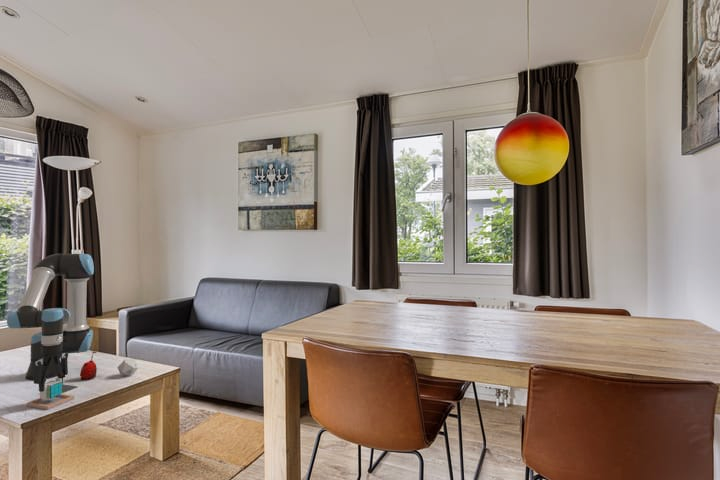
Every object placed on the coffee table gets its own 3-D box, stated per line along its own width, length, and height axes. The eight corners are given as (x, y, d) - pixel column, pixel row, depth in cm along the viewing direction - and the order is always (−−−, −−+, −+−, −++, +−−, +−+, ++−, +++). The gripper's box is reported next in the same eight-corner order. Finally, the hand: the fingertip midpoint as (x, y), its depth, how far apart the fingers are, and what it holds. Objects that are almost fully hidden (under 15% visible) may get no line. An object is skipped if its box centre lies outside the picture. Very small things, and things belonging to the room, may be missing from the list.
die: (123, 380, 204) (136, 363, 207) (110, 370, 206) (124, 354, 209) (131, 380, 212) (144, 364, 215) (119, 371, 214) (132, 355, 217)
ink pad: (40, 393, 184) (40, 390, 184) (61, 385, 194) (61, 383, 194) (60, 396, 181) (60, 393, 181) (80, 388, 191) (80, 386, 191)
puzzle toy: (50, 398, 171) (50, 385, 171) (39, 397, 172) (39, 384, 172) (62, 393, 177) (62, 381, 177) (51, 392, 178) (51, 380, 178)
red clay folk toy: (86, 375, 208) (86, 347, 208) (99, 375, 209) (100, 347, 209) (77, 381, 200) (77, 352, 200) (91, 381, 201) (92, 351, 201)
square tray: (26, 406, 170) (26, 403, 170) (54, 395, 182) (54, 392, 182) (47, 409, 167) (47, 406, 167) (74, 398, 179) (74, 395, 179)
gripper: (36, 350, 165) (35, 404, 165) (78, 339, 183) (77, 388, 183) (22, 348, 166) (21, 402, 166) (66, 337, 185) (65, 386, 185)
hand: (51, 395), depth 175 cm, fingers closed on puzzle toy, 6 cm apart
